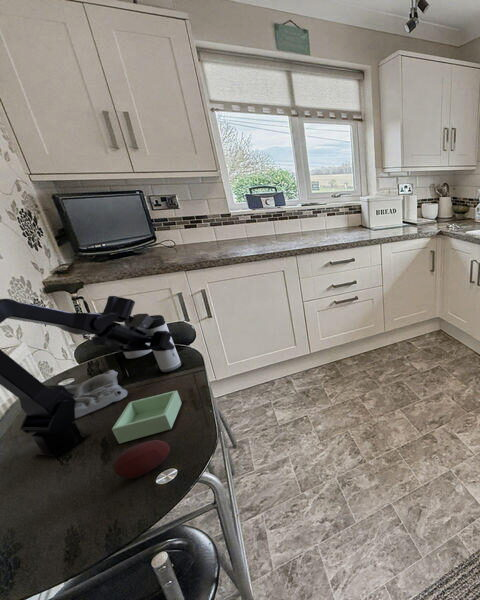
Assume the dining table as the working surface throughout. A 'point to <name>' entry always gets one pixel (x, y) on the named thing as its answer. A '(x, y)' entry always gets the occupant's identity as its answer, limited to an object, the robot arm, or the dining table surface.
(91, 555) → the dining table surface
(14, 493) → the dining table surface
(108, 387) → the wall plaque
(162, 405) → the holder
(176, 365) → the travel mug
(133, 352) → the cup
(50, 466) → the dining table surface
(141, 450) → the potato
